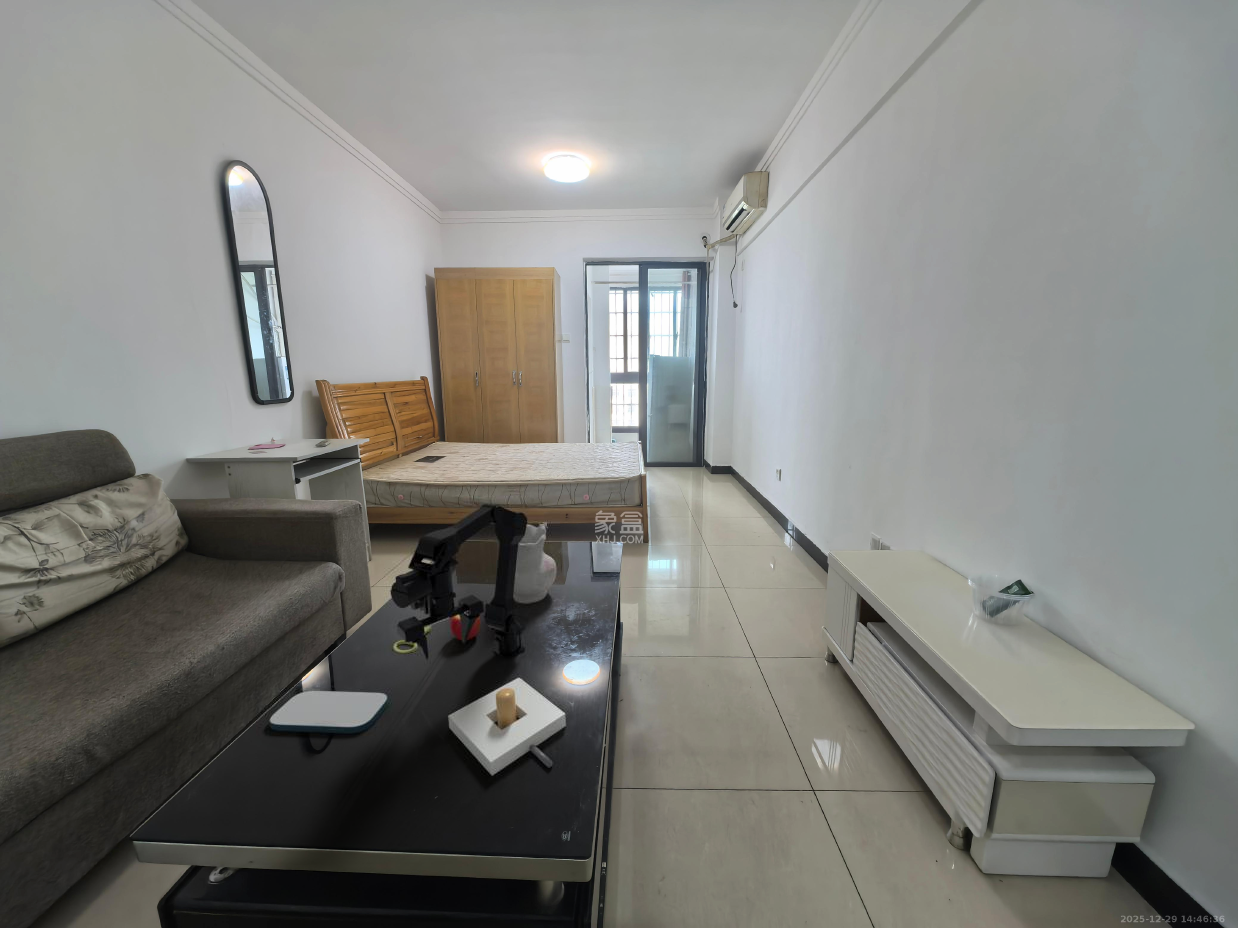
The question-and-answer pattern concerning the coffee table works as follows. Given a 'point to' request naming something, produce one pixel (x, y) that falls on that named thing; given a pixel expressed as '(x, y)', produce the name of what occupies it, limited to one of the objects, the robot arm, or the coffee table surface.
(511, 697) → the tan peg
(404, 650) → the key
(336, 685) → the coffee table surface
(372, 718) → the external hard drive
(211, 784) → the coffee table surface
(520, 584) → the ceramic pitcher
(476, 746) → the grey board with hole
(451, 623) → the apple
